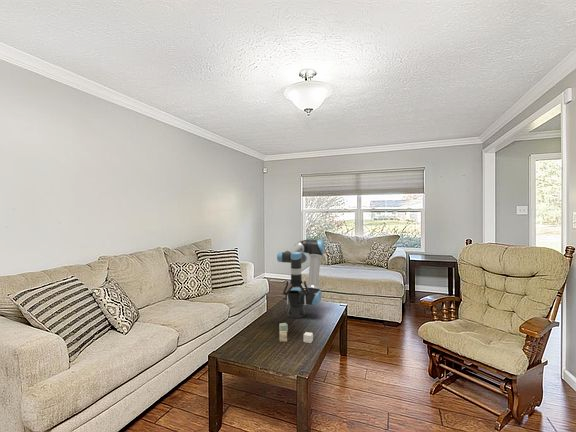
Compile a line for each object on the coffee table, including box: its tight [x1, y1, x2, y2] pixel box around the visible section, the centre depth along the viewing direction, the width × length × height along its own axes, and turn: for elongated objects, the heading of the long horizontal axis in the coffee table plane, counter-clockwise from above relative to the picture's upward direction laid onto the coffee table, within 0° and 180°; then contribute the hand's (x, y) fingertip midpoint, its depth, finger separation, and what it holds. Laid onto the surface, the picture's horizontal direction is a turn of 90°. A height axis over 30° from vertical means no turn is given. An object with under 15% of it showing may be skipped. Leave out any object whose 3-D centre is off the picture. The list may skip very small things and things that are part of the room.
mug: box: [288, 290, 305, 306], centre depth 212 cm, size 8×12×10 cm
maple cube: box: [279, 330, 288, 343], centre depth 203 cm, size 5×5×5 cm
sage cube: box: [278, 322, 289, 333], centre depth 218 cm, size 5×5×5 cm
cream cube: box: [303, 331, 314, 344], centre depth 200 cm, size 5×5×5 cm
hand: (296, 304), depth 212 cm, fingers closed on mug, 12 cm apart
